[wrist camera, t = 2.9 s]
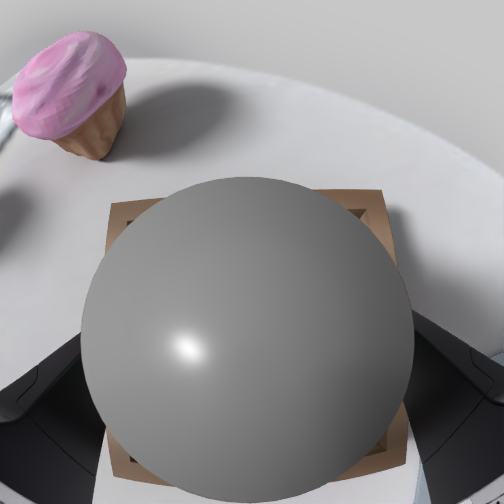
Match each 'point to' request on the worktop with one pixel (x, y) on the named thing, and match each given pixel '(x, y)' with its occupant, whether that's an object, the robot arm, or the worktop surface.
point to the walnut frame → (376, 219)
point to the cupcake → (73, 94)
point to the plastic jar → (247, 339)
